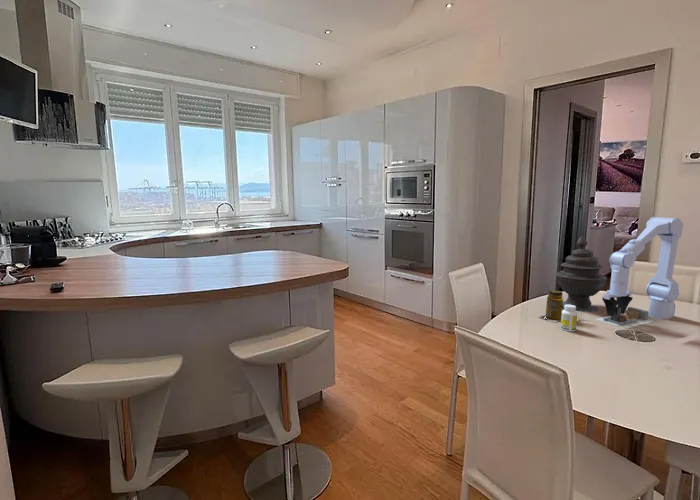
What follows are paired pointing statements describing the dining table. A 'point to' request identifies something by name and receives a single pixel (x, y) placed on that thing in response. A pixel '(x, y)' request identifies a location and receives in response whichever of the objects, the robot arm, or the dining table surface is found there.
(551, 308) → the condiment
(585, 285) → the decorative urn
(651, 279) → the robot arm
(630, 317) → the nut
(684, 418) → the dining table surface
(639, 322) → the board
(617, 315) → the carriage
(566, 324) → the supplement bottle
